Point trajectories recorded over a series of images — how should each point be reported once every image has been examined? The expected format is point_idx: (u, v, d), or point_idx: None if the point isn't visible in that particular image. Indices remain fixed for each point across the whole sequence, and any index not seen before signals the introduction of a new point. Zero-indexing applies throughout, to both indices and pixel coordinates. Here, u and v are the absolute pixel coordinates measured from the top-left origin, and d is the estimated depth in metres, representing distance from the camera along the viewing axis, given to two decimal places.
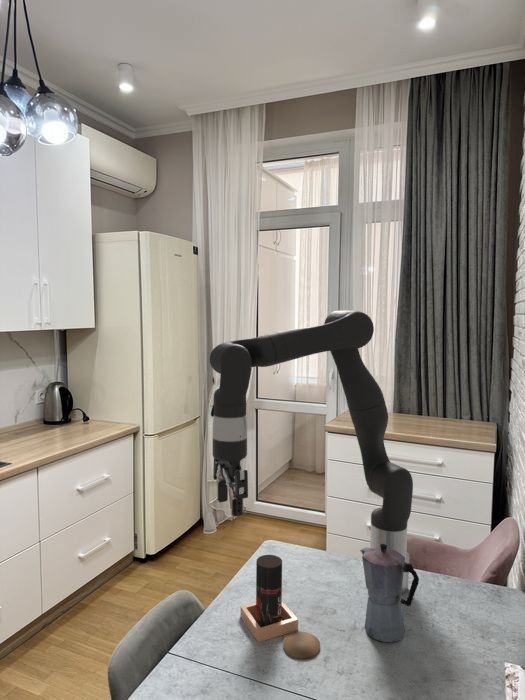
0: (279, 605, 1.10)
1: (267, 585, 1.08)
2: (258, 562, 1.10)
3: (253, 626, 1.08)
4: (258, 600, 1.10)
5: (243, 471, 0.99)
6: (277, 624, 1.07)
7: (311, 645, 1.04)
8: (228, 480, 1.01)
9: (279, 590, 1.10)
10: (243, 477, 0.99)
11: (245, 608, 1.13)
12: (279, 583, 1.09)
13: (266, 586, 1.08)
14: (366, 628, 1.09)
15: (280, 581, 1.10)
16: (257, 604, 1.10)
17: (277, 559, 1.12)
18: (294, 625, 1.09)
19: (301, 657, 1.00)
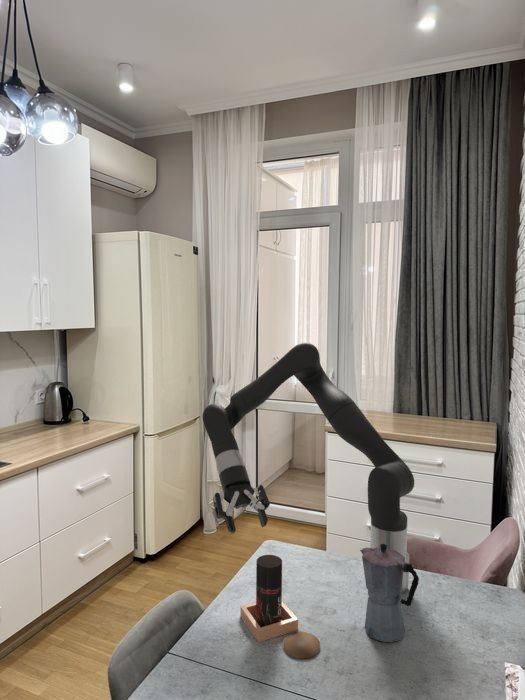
0: (279, 605, 1.10)
1: (267, 585, 1.08)
2: (258, 562, 1.10)
3: (253, 626, 1.08)
4: (258, 600, 1.10)
5: None
6: (277, 624, 1.07)
7: (311, 645, 1.04)
8: (253, 496, 1.25)
9: (279, 590, 1.10)
10: None
11: (245, 608, 1.13)
12: (279, 583, 1.09)
13: (266, 586, 1.08)
14: (366, 628, 1.09)
15: (280, 581, 1.10)
16: (257, 604, 1.10)
17: (277, 559, 1.12)
18: (294, 625, 1.09)
19: (301, 657, 1.00)
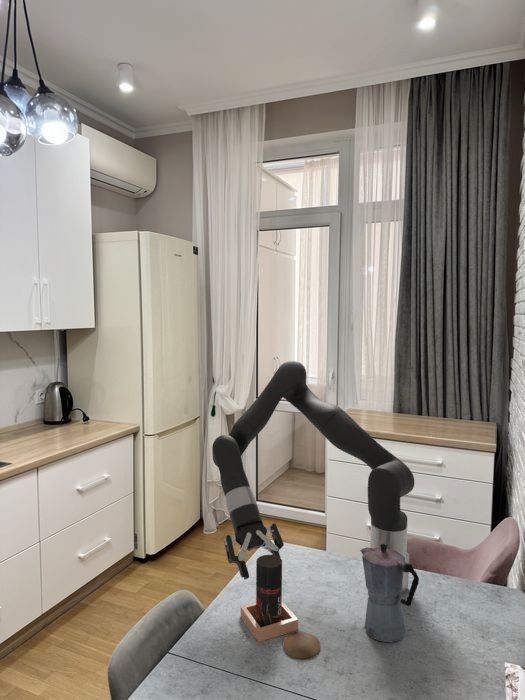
0: (279, 605, 1.10)
1: (267, 585, 1.08)
2: (258, 562, 1.10)
3: (253, 626, 1.08)
4: (258, 600, 1.10)
5: None
6: (277, 624, 1.07)
7: (311, 645, 1.04)
8: (266, 537, 1.19)
9: (279, 590, 1.10)
10: None
11: (245, 608, 1.13)
12: (279, 583, 1.09)
13: (266, 586, 1.08)
14: (366, 628, 1.09)
15: (280, 581, 1.10)
16: (257, 604, 1.10)
17: (277, 559, 1.12)
18: (294, 625, 1.09)
19: (301, 657, 1.00)
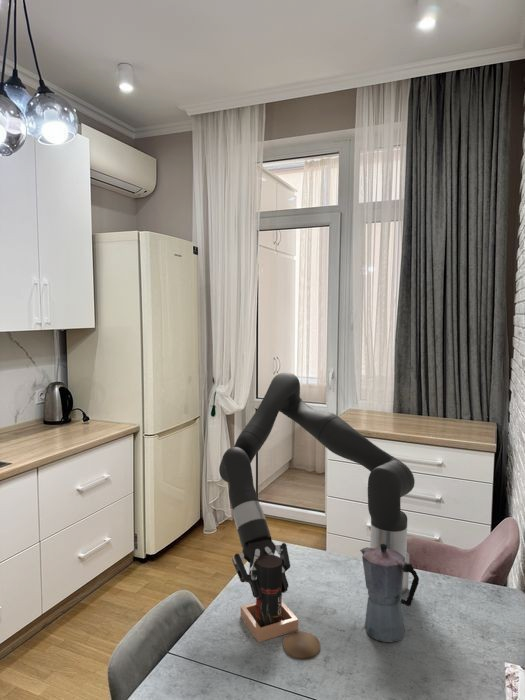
0: (279, 605, 1.10)
1: (267, 585, 1.08)
2: (258, 562, 1.10)
3: (253, 626, 1.08)
4: (258, 600, 1.10)
5: None
6: (277, 624, 1.07)
7: (311, 645, 1.04)
8: None
9: (279, 590, 1.10)
10: None
11: (245, 608, 1.13)
12: (279, 583, 1.09)
13: (266, 586, 1.08)
14: (366, 628, 1.09)
15: (280, 581, 1.10)
16: (257, 604, 1.10)
17: (277, 559, 1.12)
18: (294, 625, 1.09)
19: (301, 657, 1.00)
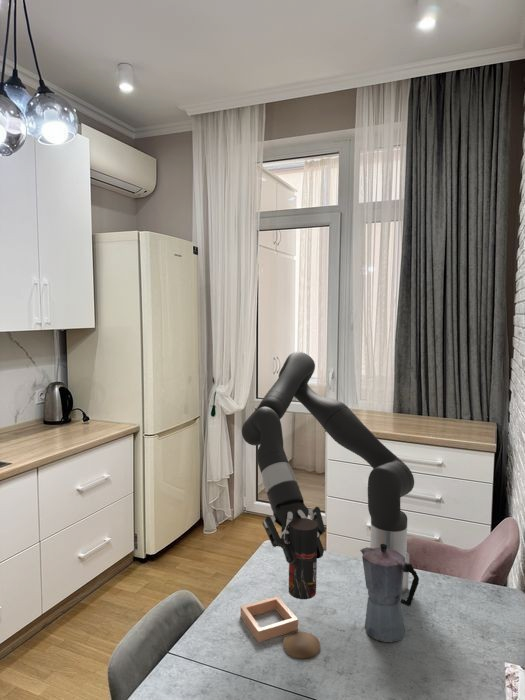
0: (314, 571, 1.02)
1: (302, 549, 1.00)
2: (292, 525, 1.02)
3: (253, 626, 1.08)
4: (292, 566, 1.01)
5: None
6: (277, 624, 1.07)
7: (311, 645, 1.04)
8: None
9: (314, 555, 1.01)
10: None
11: (245, 608, 1.13)
12: (315, 547, 1.01)
13: (301, 550, 1.00)
14: (366, 628, 1.09)
15: (316, 545, 1.01)
16: (290, 570, 1.02)
17: (312, 522, 1.03)
18: (294, 625, 1.09)
19: (301, 657, 1.00)
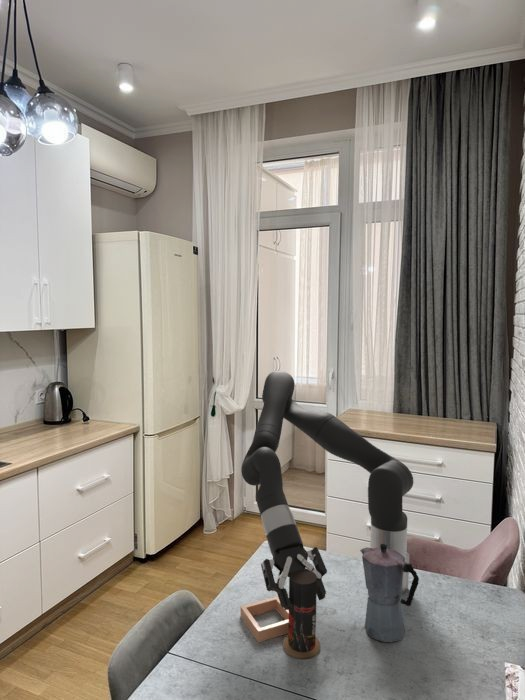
0: (314, 624, 1.02)
1: (301, 603, 1.01)
2: (291, 578, 1.03)
3: (253, 626, 1.08)
4: (291, 618, 1.02)
5: None
6: (277, 624, 1.07)
7: None
8: (308, 562, 1.07)
9: (314, 608, 1.02)
10: None
11: (245, 608, 1.13)
12: (314, 600, 1.02)
13: (300, 604, 1.01)
14: (366, 628, 1.09)
15: (315, 598, 1.02)
16: (290, 623, 1.03)
17: (311, 574, 1.04)
18: None
19: (301, 657, 1.00)
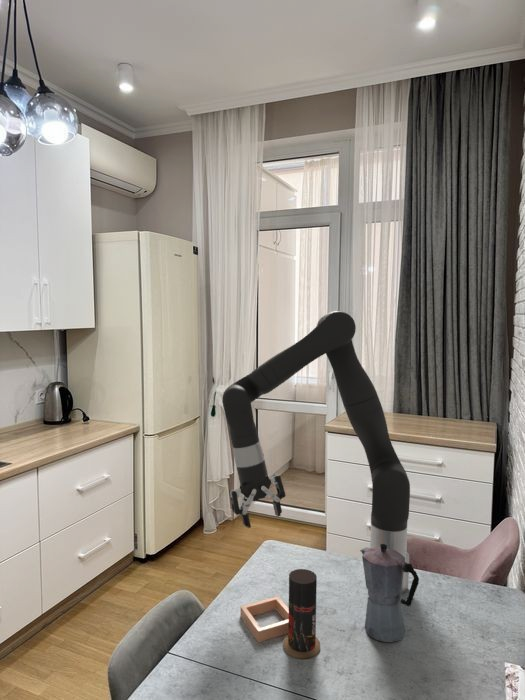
0: (313, 624, 1.02)
1: (301, 602, 1.01)
2: (291, 577, 1.03)
3: (253, 626, 1.08)
4: (291, 618, 1.02)
5: (277, 475, 1.27)
6: (277, 624, 1.07)
7: None
8: (270, 491, 1.24)
9: (314, 608, 1.02)
10: None
11: (245, 608, 1.13)
12: (314, 600, 1.02)
13: (300, 603, 1.01)
14: (366, 628, 1.09)
15: (315, 598, 1.02)
16: (290, 622, 1.03)
17: (311, 574, 1.04)
18: None
19: (301, 657, 1.00)
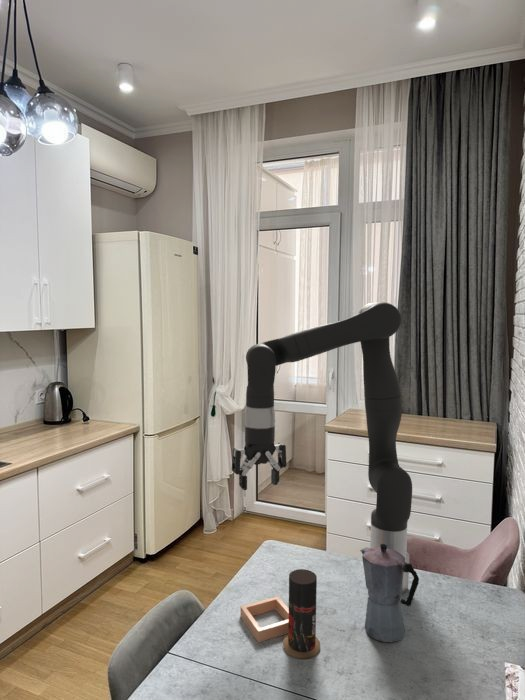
0: (313, 624, 1.02)
1: (301, 603, 1.01)
2: (291, 578, 1.03)
3: (253, 626, 1.08)
4: (291, 618, 1.02)
5: (282, 444, 1.24)
6: (277, 624, 1.07)
7: None
8: (273, 458, 1.21)
9: (314, 608, 1.02)
10: None
11: (245, 608, 1.13)
12: (314, 600, 1.02)
13: (300, 604, 1.01)
14: (366, 628, 1.09)
15: (315, 598, 1.02)
16: (290, 623, 1.03)
17: (311, 574, 1.04)
18: None
19: (301, 657, 1.00)
